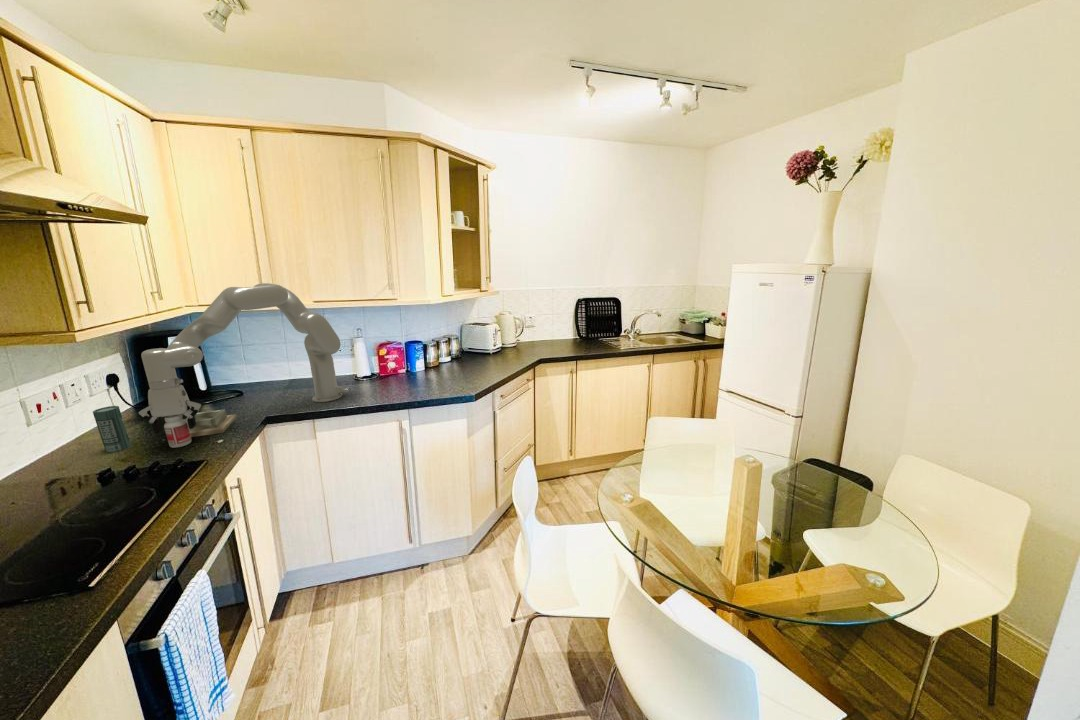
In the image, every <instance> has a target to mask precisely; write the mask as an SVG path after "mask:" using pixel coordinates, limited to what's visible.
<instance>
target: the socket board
mask: <svg viewBox="0 0 1080 720" xmlns="http://www.w3.org/2000/svg"><path fill="white" fill-rule="evenodd" d="M194 417H195V421H196V425H195V427H194V428H193V429H189V426H188V429H189V432H190V436H191V438H194V437H200V436H208V435H209V436H210V435H214V434H215V435H216V434H222V433H224V432H225V431H226V430H227V429H228V428H229V427H230V426H231V425H232V424H233V423H234V422H235V420H237V418H238V415H237V414H234V413H233V414H228V415H227V412H226V409H225V408H224V409H216V410H208V411H202V412H198V413H197V414H196V415H195V416H194ZM187 419H188V417H187V416H186V418H184V420H186V421H187ZM232 422H233V423H232ZM231 423H232V424H231ZM230 424H231V425H230ZM187 425H188V422H187Z"/></svg>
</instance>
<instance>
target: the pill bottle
mask: <svg viewBox="0 0 1080 720" xmlns="http://www.w3.org/2000/svg"><path fill="white" fill-rule="evenodd" d="M183 416H184V415H183V414H181V415H173V416H165V417H164V421H165V423H164V425H163V428H164V432H165V436H166V438H167V442H168V445H169V447H170V448H176V449H177V448H180V447H181V448H182V447H184V446H187V445H189V444H191V443H192V437H191V436H190V432H189V429H188V425H187V421H186V420H185V418H183Z"/></svg>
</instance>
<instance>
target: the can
mask: <svg viewBox="0 0 1080 720" xmlns="http://www.w3.org/2000/svg"><path fill="white" fill-rule="evenodd" d="M92 414H93V417H94V420H95V424H96V426H97V429H98V433H99V436H100V439H101V442H102V445H103V448H104V451H105V453H110V454H111V452H112V453H116V452H117V453H118V452H120V451H123V450H126V449H129V448H130V447H131V446H132V445H131V441H130V438H129V435H128V432H127V429H126V425H125V422H124V419H123V415H122V412H121V410H120V407H119V406H118V405H109V406H105V407H101V408H97V409H95V410H92Z"/></svg>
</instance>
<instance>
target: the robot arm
mask: <svg viewBox="0 0 1080 720" xmlns="http://www.w3.org/2000/svg"><path fill="white" fill-rule="evenodd" d="M273 307H276V308H278V309H279V311H281V313H282V314H283V315H284V316H285V317H286V318H287V320H288V321H289V322H290V324H291V325H292V327H293V328H294V329H295V331H297V332H299V333H301V334H305V335H306V334H307V335H306V336H305V337H304V340H303V341H304V343H303V344H304V348H305V351H306V353H307V356H308V361H309V365H310V366H309V367H310V370H311V377H312V382H313V388H314V395H313V397H312V398H311V400H312V402H315V403H326V402H327V403H328V402H332V401H336V400H338V399H340V398H342V397H343V394H345V393H346V394H347V393H349V388H348V387H341V388H340V386H339V385H338V382H337V377H336V376H337V375H336V371H335V363H334V359H333V354H336V353H337V352H339V351H340V349H341V344H342V343H341V340H340V337H339V336H338V334H337V333H336V331H335V330H334V328H333V326H332V325H331V324H330V322H329V321H328V319H327V318H326V317H324V316H323V315H322V314H320V313H319V312H311V311H310V310H308V308H307V307H306V306H305V304H304V303H303V302H302V301H301V299H300V298H299V297H298V296H297V295H296V294H295V293H294V292H292V291H291V290H289V289H287V287H283V286H282V285H280V284H276V283H270V282H269V283H268V282H267V283H264V282H262V283H261V282H260V283H257V284H256V285H253V286H245V287H242V286H241V287H240V286H230V287H229V286H228V287H226V288H225V289H223V290H222V291H221V292H220V293H219V294H218V296H216V298H214V300H213V301H212V303H211V304H210V305H209V306H208V307H207V308H206V309H205V310H204V311H203V313H202V314H201V315H199V316H198V317H197V318H195V320H193V321H192V322H191V323H190V324H188V325H187V326H186V327H185V328H184V329H182V331H180V332H179V333H178V334H177V335H176V337H175V338H174V339H173V340H172V341H171V342H170V343H169V345H168V346H167V348H163V347H159V348H150V349H146V350H144V351H142V352H141V356H140V357H141V360H142V364H143V368H144V371H145V375H146V378H147V379H146V380H147V382H148V386H149V389H148V390H147V391H148V392H147V400H148V406H147V407H145V408H143V409H141V410H140V411H138V414H139V415H140V416H141V417H142V419H144V420H145V421H147V422H148V423H149V424H151V426H152V429H153V431H154V433H155V434H159V433H161V432H162V431H163V427H162V423H161V420H160V419H159V418H163V417H164V418H165V417H166V416H173V415H181V414H182V415H183V416H185V417H186V418H187V417H188V419H187V422H188V426H189V429H193V428H194V427H195V425H196V421H195V417H194V416H195V415H196V414H197V413H200V412H199V411H200V409H201V407H202V403H199V402H195V401H191V400H190V399H189V396H188V393H187V391H186V389H185V387H184V385H182V383H184V380H183V379H182V378H179V377H178V375H177V371H176V368H185V367H192V366H193V367H194V366H196V365H198V364H200V362H201V361H202V360H203V358H204V354H203V352H202V350H201V349H200V348H199V347H200V346H201V345H202V344H203V343H204V342H205V341H206V340H207V339H209V338H211V337H213V336H216V335H217V334H220V333H222V332H223V331H225V330H226V329H227V328H228V326H230V325H231V323H232V322H233V321H234V319H236V317H237V316H238V315H239V314H240V313H241V311H252V310H261V309H269V308H273ZM192 407H193V410H191V409H192ZM149 411H150V412H149ZM148 412H149V413H150V414H148Z"/></svg>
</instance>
